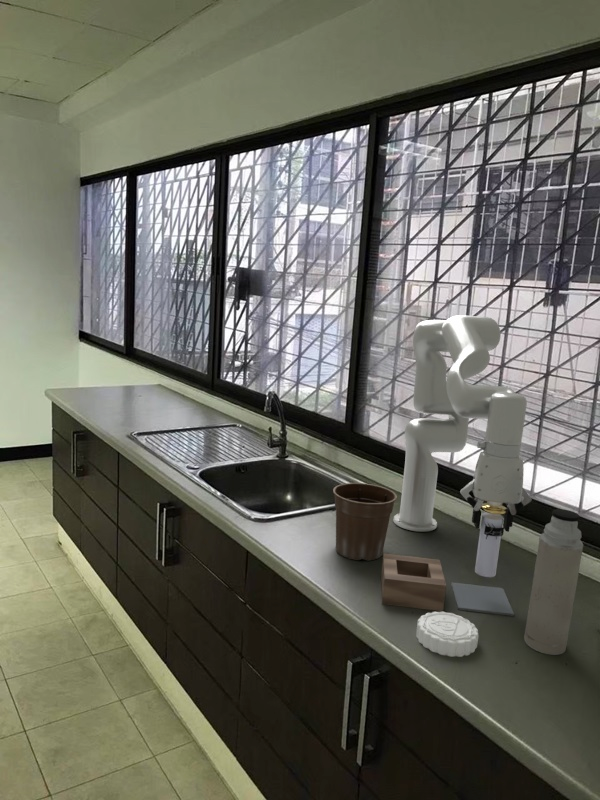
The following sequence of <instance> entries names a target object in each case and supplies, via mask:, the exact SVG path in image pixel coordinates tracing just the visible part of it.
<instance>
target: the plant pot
mask: <svg viewBox="0 0 600 800" xmlns="http://www.w3.org/2000/svg"><path fill="white" fill-rule="evenodd" d="M332 490H333V491H332V493H333V495H334V506H335V549H336V552H337V553H338V554H339V555H341V556H342V557H345V558H346V559H351V560H354V561H360V560H365V561H367V562H370V561H375V560H378V559H379V558H381V557H383V553H384V547H385V542H386V537H387V533H388V527H389V523H390V518H391V514H392V513H393V509H394V506H395V505H394V504H395V501H396V500H397V499H398V496H397V493H395V492H394V491H393V490H391V489H389V488H387V487H383V486H380V485H376V484H370V483H365V482H349V483H346V482H345V483H340V484H339V485H335V487H333V489H332Z"/></svg>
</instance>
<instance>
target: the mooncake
mask: <svg viewBox="0 0 600 800" xmlns="http://www.w3.org/2000/svg"><path fill="white" fill-rule="evenodd" d="M415 635H416V636H415V637H416V639H417V640H418V641H417V642H418V643H419V644H421V645H422V646H423V647H424V648H426V649H429V650H430V652H433V653H437V654H439V655H440V656H447V657H453V658H454V657H460V658H462V657H464V656H469V655H470V656H471V654H473V653H474V652H475V651H476V649H478V642H479V641H478V640H479V630H478V628H477V627H476V625H475V624H474V623H473V622H471V621H470V620H469V619H468V618H464V617H463V616H461V615H457V614H455V613H453V612H445V611H444V610H443V611H432V612H427V613H425V614H422V615H421V616H420V617H419V618H418V619H417V623H416V634H415Z"/></svg>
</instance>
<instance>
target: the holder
mask: <svg viewBox="0 0 600 800" xmlns="http://www.w3.org/2000/svg"><path fill="white" fill-rule="evenodd" d="M380 586H381V588H380V590H381V605H389V606H396V607H397V606H398V607H406V608H411V609H412V608H415V609H420V610H421V609H423V610H431V611H436V612H442V611H443V612H444V605H445V598H446V597H445V596H446V590H447V583H446V580H445V576H444V571H443V568H442V564H441V559H436V558H428V557H420V556H419V557H418V556H410V555H409V556H408V555H402V554H401V555H400V554H391V553H384V552H383V554H382V563H381V574H380Z"/></svg>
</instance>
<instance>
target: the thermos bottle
mask: <svg viewBox="0 0 600 800" xmlns="http://www.w3.org/2000/svg"><path fill="white" fill-rule="evenodd" d="M551 514H552V516H551V519H550V522H549V523H546V524H545V527H544V529H543V533H540V535H539V539H538V547H537V552H536V559H535V565H534V570H533V571H534V572H533V577H532V584H531V586H532V587H531V589H530V598H529V604H528V605H529V606H528V609H527V610H528V612H527V617H526V623H525V630H524V636H523V637H524V638H523V640H524V642H525V644H526V645H527V646H529V648H530V649H532V650H534V651H537V652H538V653H541V654H545V655H551V656H555V655H556V656H557V655H562V654H564V653H565V652H566V651H567V643H568V639H569V632H570V627H571V621H572V615H573V609H574V601H575V597H576V590H577V584H578V579H579V573H580V568H581V566H580V565H581V562H582V561H581V560H582V554H583V550H584V544H583V543H584V542H582V540H581V539H582V531H581V530H580V529H579V528H578V526H579V525H578V524H579V522H578V521H579V520H580V514H578V513H577V512H574V511H571V510H568V509H562V508H561V509H560V508H556V509H553V510H552V513H551Z"/></svg>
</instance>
